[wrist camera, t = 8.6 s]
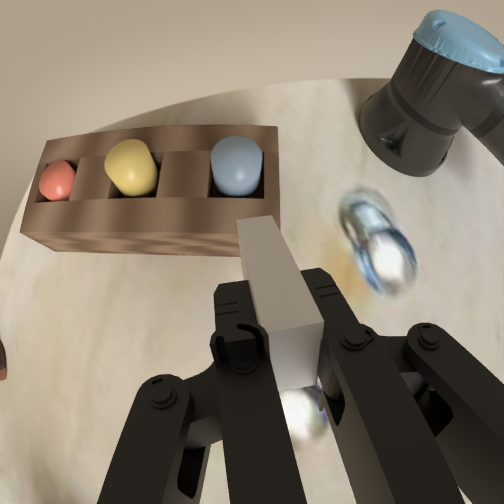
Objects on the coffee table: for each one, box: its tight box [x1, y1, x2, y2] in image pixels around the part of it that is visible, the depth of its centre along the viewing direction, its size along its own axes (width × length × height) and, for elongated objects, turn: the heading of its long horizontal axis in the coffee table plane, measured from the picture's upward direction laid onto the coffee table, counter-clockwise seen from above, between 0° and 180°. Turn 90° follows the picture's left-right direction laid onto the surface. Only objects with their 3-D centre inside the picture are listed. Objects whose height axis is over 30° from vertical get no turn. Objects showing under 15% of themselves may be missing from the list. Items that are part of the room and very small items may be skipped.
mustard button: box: [104, 139, 160, 198], centre depth 26 cm, size 4×4×4 cm
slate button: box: [211, 136, 262, 198], centre depth 27 cm, size 4×4×4 cm
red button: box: [39, 160, 76, 202], centre depth 28 cm, size 4×4×4 cm
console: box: [20, 125, 280, 257], centre depth 31 cm, size 28×12×8 cm, turn 89°
